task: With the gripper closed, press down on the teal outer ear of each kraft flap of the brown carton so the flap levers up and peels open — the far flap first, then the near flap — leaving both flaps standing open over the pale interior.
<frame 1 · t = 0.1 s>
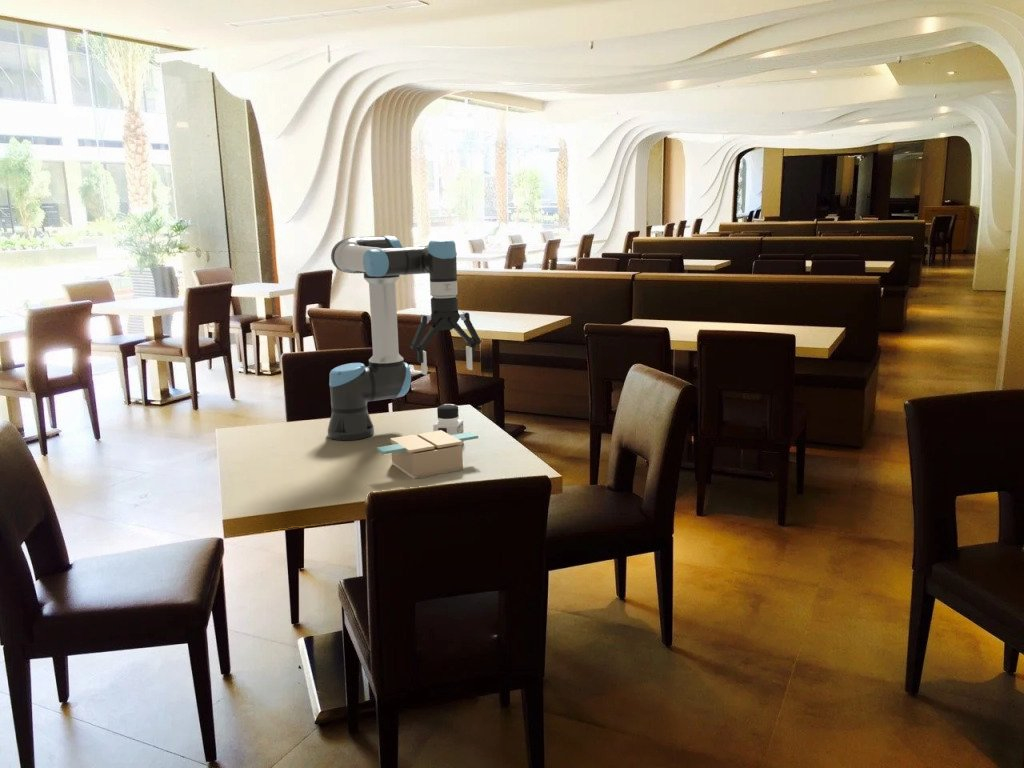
hand: (447, 371, 232), 28 cm above the table, fingers open, 13 cm apart
near flap: (401, 445, 232), point 8 cm above the table, hinge at 0.0°
carton: (427, 466, 237), on the table
far flap: (449, 437, 239), point 8 cm above the table, hinge at 0.0°
container: (449, 446, 258), on the table
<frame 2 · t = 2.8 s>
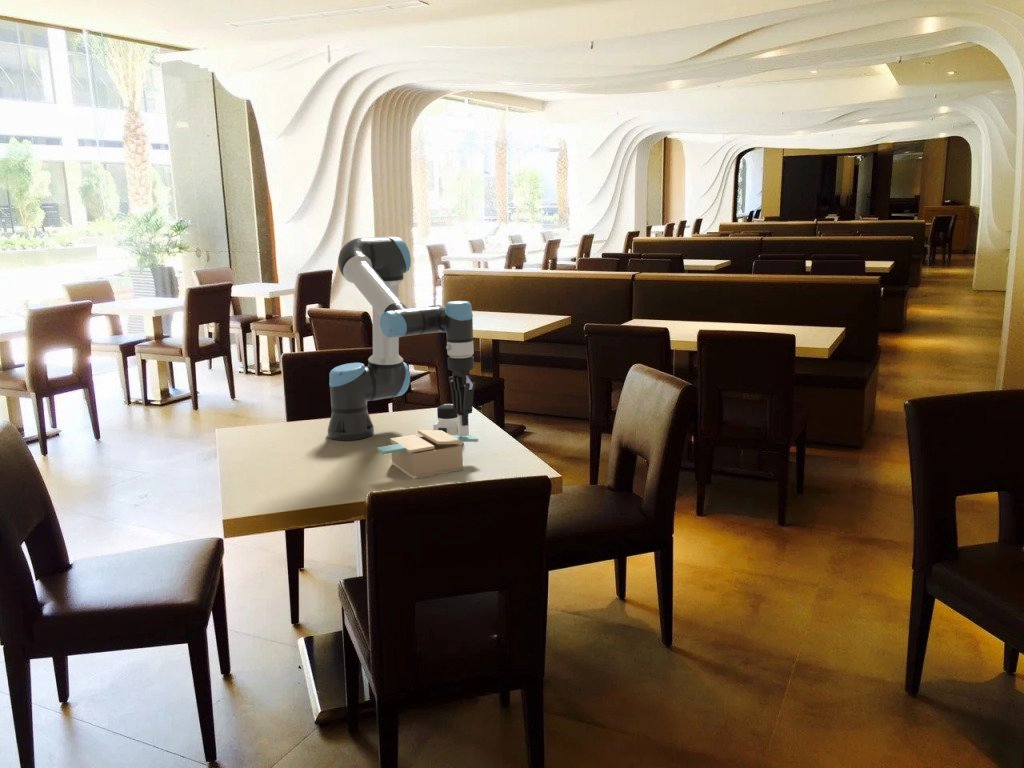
hand: (463, 435, 239), 8 cm above the table, fingers closed
far flap: (449, 436, 239), point 8 cm above the table, hinge at 8.9°, touching gripper
everything else where it was.
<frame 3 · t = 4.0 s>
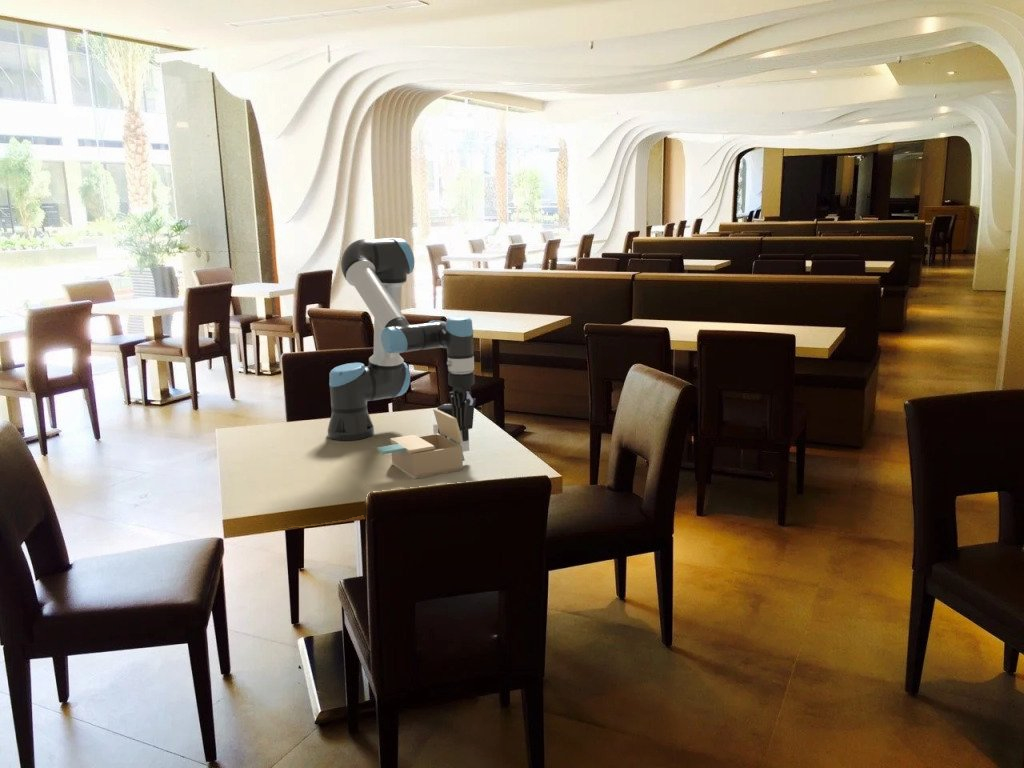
hand: (464, 450, 239), 4 cm above the table, fingers closed
far flap: (450, 435, 239), point 8 cm above the table, hinge at 75.8°, touching gripper
everything else where it was.
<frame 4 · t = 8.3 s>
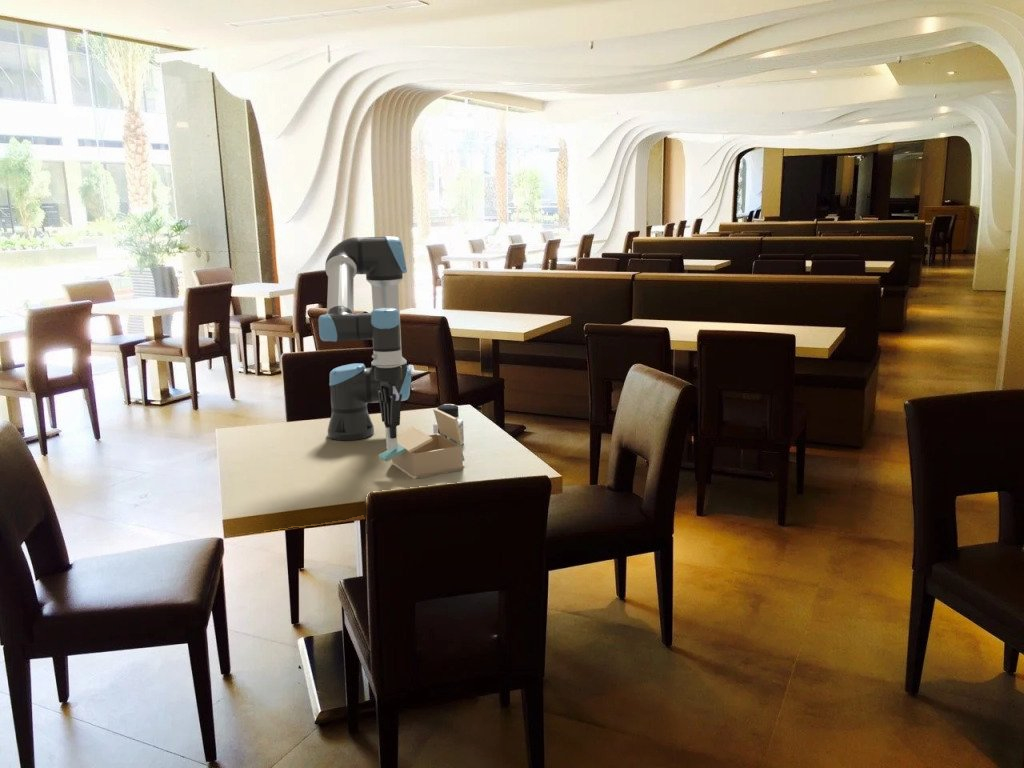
hand: (392, 448, 228), 8 cm above the table, fingers closed
near flap: (401, 444, 231), point 8 cm above the table, hinge at 19.8°, touching gripper
far flap: (450, 435, 239), point 8 cm above the table, hinge at 76.2°
everything else where it was.
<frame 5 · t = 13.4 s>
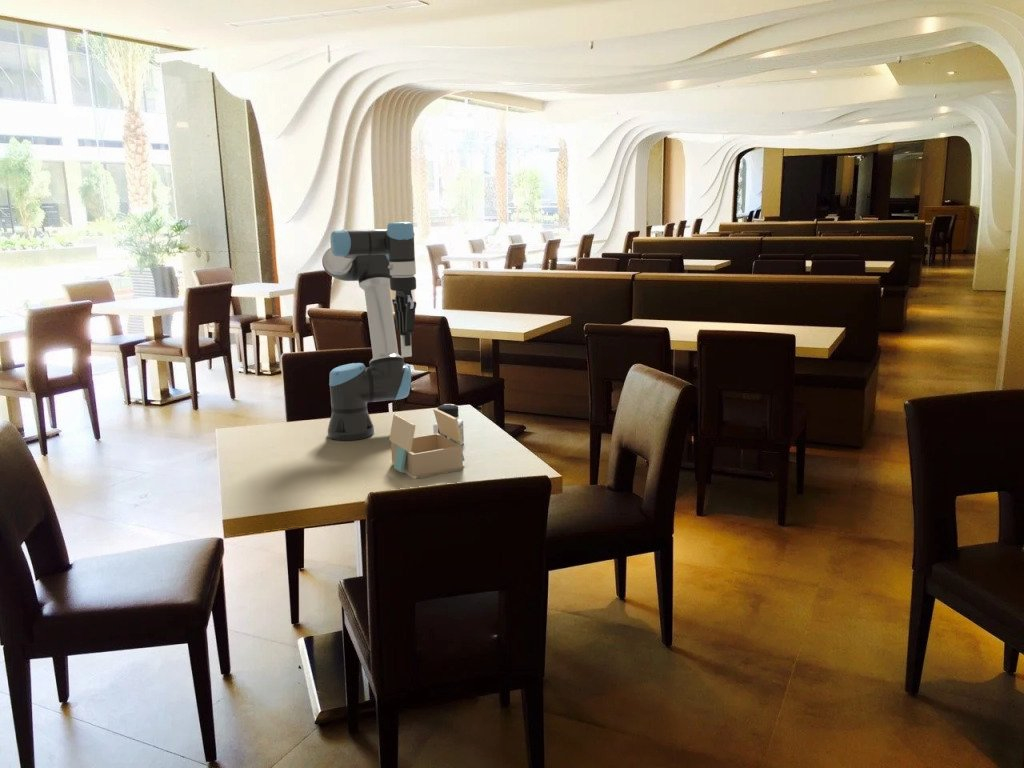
hand: (406, 356, 242), 30 cm above the table, fingers closed
near flap: (400, 443, 231), point 8 cm above the table, hinge at 76.4°
everything else where it was.
at the end: far flap at +76° (first picture: +0°); near flap at +76° (first picture: +0°) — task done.
